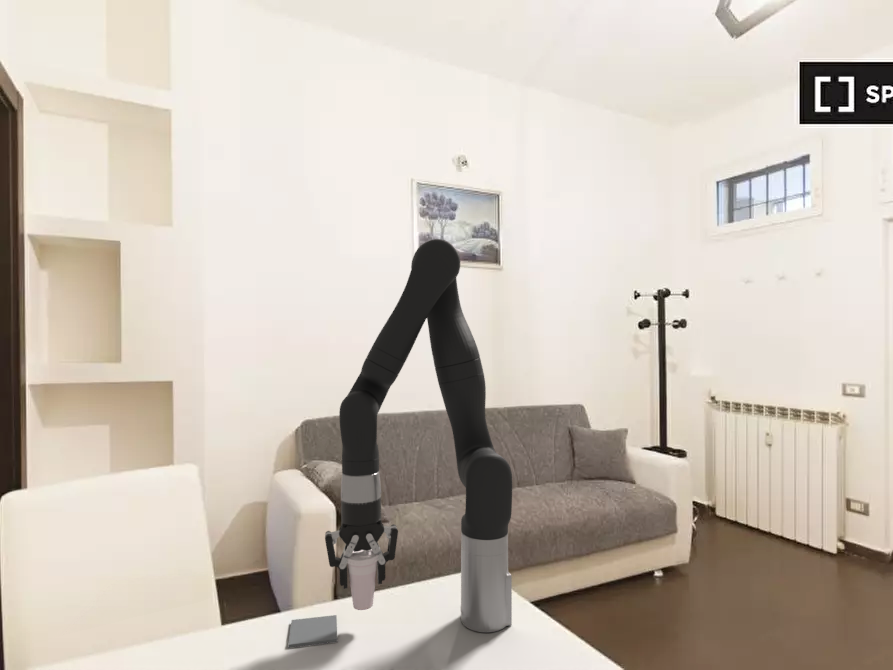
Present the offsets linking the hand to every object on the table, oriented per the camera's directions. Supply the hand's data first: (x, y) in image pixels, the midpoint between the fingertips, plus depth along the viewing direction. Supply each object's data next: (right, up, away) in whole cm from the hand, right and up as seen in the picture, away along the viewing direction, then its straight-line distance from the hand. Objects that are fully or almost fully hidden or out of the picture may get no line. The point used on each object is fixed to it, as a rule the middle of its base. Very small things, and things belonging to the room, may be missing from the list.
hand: (362, 584), depth 97 cm
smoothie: (0, -4, 0) cm, 4 cm away
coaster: (-9, -8, -1) cm, 12 cm away
